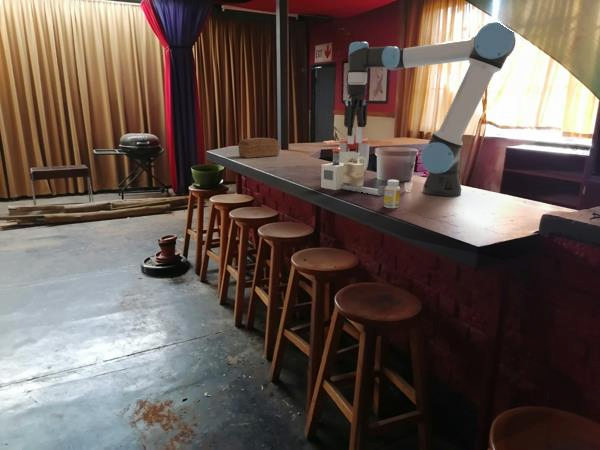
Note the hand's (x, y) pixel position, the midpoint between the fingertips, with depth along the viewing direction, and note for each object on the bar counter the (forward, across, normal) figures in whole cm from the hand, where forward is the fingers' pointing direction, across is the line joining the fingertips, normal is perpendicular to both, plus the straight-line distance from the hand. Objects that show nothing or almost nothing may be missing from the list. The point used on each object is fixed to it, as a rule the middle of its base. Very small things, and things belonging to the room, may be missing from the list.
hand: (354, 143), depth 178 cm
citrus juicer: (+20, -32, -24) cm, 44 cm away
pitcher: (+20, -17, -14) cm, 30 cm away
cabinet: (+20, 0, -10) cm, 22 cm away
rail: (+20, 0, +4) cm, 20 cm away
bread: (+20, -47, -112) cm, 123 cm away
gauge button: (+10, 0, -10) cm, 14 cm away
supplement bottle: (+20, +14, +28) cm, 37 cm away
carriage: (+17, 0, 0) cm, 17 cm away
